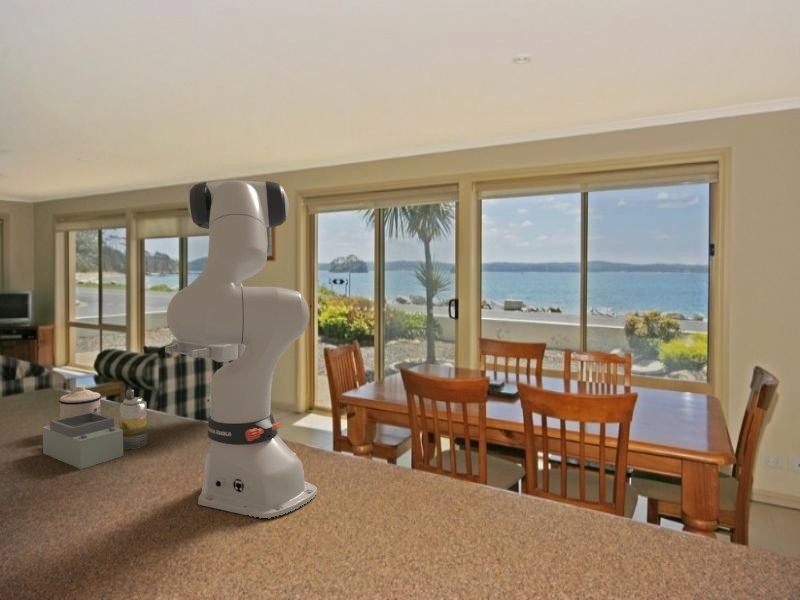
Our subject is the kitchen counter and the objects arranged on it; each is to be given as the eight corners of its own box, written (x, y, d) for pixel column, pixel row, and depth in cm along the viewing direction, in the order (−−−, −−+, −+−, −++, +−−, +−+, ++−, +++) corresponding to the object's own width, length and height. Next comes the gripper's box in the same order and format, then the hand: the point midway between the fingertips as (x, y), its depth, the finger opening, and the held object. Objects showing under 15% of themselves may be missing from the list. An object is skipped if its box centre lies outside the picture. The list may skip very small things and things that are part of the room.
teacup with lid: (98, 435, 131) (97, 389, 130) (55, 439, 127) (54, 391, 127) (105, 421, 142) (105, 379, 141) (66, 424, 139) (65, 381, 138)
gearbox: (123, 456, 117) (122, 421, 117) (81, 469, 110) (80, 431, 109) (76, 439, 128) (75, 406, 127) (34, 449, 120) (33, 415, 120)
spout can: (152, 444, 125) (151, 390, 125) (129, 451, 121) (128, 395, 120) (138, 439, 128) (137, 386, 128) (115, 446, 124) (114, 391, 123)
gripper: (198, 330, 151) (153, 335, 139) (248, 337, 140) (204, 343, 128) (198, 352, 151) (153, 359, 139) (248, 361, 140) (204, 369, 129)
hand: (178, 352), depth 134 cm, fingers open, 8 cm apart
